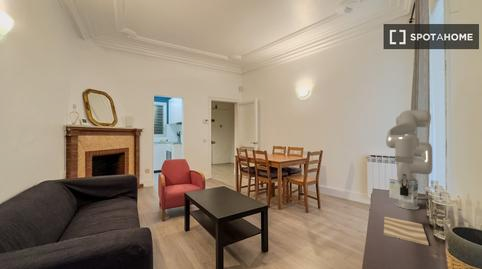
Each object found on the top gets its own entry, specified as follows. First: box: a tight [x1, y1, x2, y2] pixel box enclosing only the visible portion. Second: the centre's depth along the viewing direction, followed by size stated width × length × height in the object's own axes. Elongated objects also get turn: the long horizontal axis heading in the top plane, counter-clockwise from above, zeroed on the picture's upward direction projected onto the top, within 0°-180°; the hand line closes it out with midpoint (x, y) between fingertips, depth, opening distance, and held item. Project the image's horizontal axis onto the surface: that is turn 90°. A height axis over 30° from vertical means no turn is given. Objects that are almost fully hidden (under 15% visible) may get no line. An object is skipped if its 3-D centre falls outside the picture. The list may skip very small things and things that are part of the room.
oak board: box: [383, 216, 429, 246], centre depth 104 cm, size 22×16×1 cm
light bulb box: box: [388, 176, 419, 203], centre depth 109 cm, size 11×7×11 cm, turn 35°
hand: (403, 193), depth 109 cm, fingers closed on light bulb box, 8 cm apart
